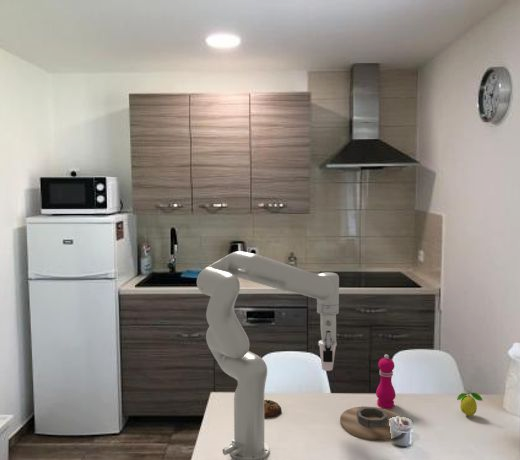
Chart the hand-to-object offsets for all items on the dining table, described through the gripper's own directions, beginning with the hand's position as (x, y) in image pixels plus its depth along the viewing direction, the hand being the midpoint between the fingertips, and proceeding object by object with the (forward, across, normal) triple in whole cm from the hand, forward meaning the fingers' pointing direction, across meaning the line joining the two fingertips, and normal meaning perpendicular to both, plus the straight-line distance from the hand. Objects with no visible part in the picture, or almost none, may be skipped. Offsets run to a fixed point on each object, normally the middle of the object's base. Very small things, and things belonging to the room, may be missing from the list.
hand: (327, 358), depth 171 cm
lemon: (+24, +10, -52) cm, 58 cm away
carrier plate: (+24, 0, -16) cm, 28 cm away
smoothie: (+4, 0, 0) cm, 4 cm away
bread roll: (+24, +7, +22) cm, 33 cm away
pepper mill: (+24, +16, -23) cm, 37 cm away
